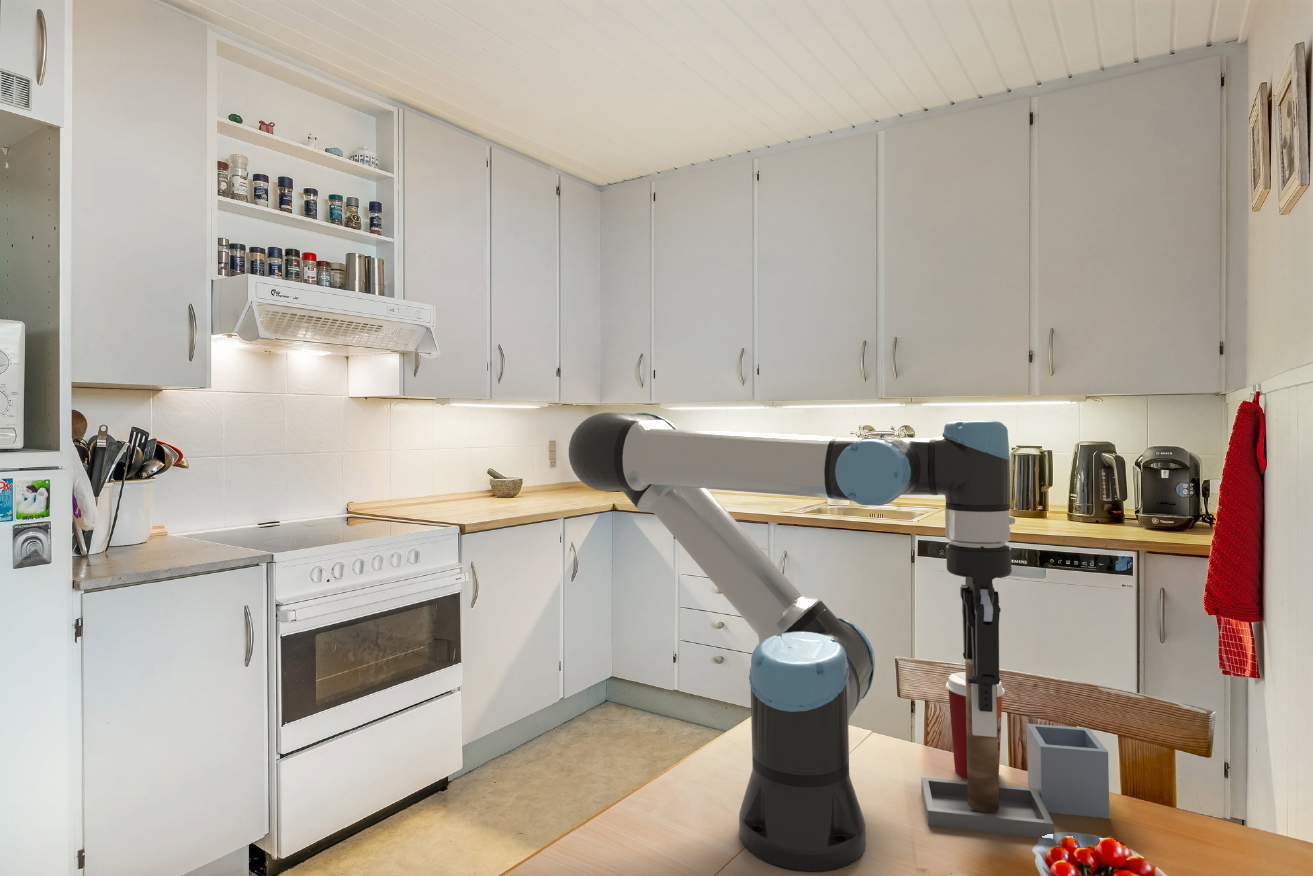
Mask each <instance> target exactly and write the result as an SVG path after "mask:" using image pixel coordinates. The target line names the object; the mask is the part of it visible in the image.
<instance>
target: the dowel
mask: <svg viewBox="0 0 1313 876" xmlns="http://www.w3.org/2000/svg"><path fill="white" fill-rule="evenodd" d="M964 665H965V666H964V667H965V669H964V670H965V671H964V672H965V674H966V729H967V781H966V782H967V783H968V805H969V806H970V807H971V808H973V809H975V810H977V811H981V812H986V813H992V812H996V811H998V810H999V785H1000V784H999V783H1000V782H999V777H1000V776H999V777H998V723H997V737H989V736H977V735H973V733H972V692H971V683H968V682H967V678H973V659H968V660H966V659H965V661H964ZM996 713H997V685H996Z"/></svg>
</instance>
